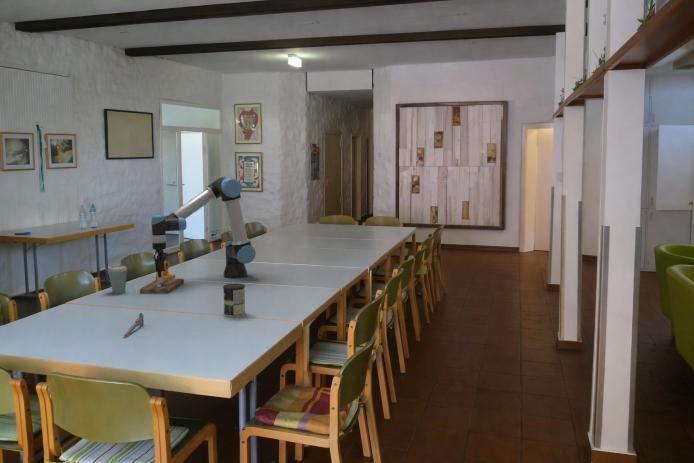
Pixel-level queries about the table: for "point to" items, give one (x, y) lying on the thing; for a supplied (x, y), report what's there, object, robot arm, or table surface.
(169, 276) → the bracket
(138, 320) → the caliper
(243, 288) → the coffee can
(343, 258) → the table surface
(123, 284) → the disposable coffee cup
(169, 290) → the wooden board with holes
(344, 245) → the table surface
